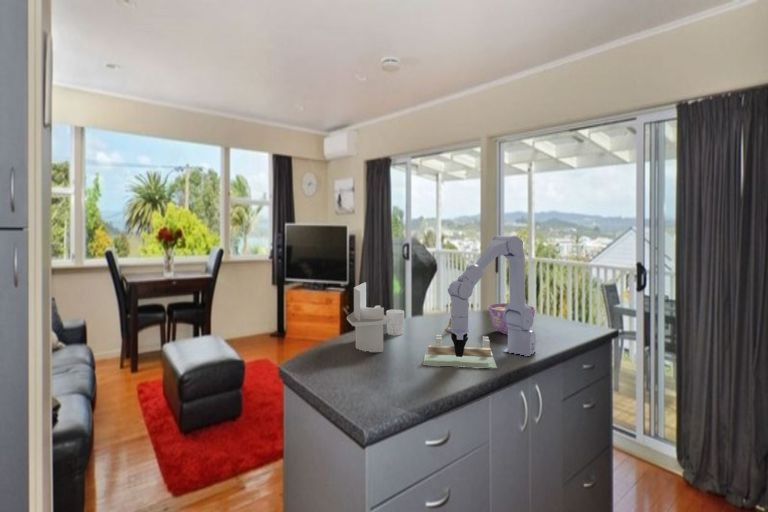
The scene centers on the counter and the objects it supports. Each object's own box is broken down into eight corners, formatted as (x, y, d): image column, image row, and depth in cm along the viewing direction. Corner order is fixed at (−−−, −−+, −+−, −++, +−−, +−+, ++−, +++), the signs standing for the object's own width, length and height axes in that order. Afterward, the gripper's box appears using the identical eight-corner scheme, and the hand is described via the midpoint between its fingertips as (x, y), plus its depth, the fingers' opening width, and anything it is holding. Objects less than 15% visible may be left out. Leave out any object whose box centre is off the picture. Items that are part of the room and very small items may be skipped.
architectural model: (403, 353, 153) (404, 290, 152) (347, 358, 147) (347, 292, 146) (383, 335, 180) (383, 281, 178) (334, 338, 174) (334, 283, 173)
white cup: (383, 332, 184) (383, 310, 183) (399, 330, 187) (399, 308, 187) (391, 336, 177) (391, 313, 176) (407, 334, 180) (407, 312, 180)
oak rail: (490, 354, 142) (490, 348, 142) (490, 357, 140) (491, 350, 140) (428, 351, 145) (428, 345, 145) (428, 353, 143) (428, 347, 143)
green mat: (493, 359, 146) (493, 357, 146) (496, 369, 136) (496, 367, 135) (424, 355, 150) (424, 354, 150) (423, 365, 139) (423, 363, 139)
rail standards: (491, 352, 154) (491, 336, 154) (492, 357, 148) (493, 341, 148) (433, 350, 157) (433, 334, 157) (432, 354, 151) (432, 338, 151)
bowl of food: (486, 337, 177) (486, 310, 176) (488, 326, 196) (489, 302, 195) (536, 340, 171) (537, 312, 170) (534, 329, 190) (534, 304, 189)
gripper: (447, 311, 150) (447, 348, 150) (447, 320, 135) (447, 361, 136) (467, 312, 148) (467, 349, 149) (469, 320, 134) (469, 362, 135)
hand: (459, 355), depth 143 cm, fingers closed on oak rail, 2 cm apart
